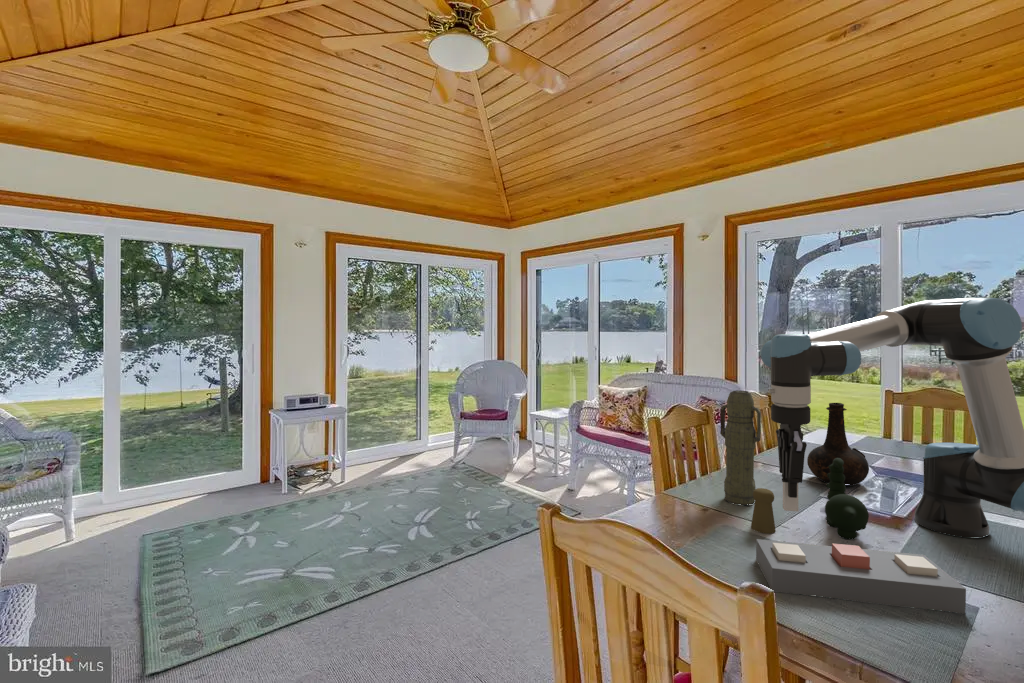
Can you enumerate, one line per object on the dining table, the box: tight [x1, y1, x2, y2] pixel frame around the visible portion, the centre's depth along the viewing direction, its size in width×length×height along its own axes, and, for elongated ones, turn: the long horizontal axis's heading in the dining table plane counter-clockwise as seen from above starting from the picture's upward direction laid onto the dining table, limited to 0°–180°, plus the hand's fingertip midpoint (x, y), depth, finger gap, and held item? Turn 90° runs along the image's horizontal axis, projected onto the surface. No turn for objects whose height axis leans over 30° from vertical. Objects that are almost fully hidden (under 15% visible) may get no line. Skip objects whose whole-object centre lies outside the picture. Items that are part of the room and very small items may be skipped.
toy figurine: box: [824, 458, 870, 541], centre depth 131 cm, size 9×19×25 cm
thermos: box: [719, 390, 762, 505], centre depth 152 cm, size 9×12×35 cm
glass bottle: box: [807, 402, 870, 486], centre depth 169 cm, size 18×18×28 cm
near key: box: [894, 554, 938, 576], centre depth 101 cm, size 5×5×4 cm
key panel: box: [755, 538, 967, 615], centre depth 104 cm, size 34×14×5 cm, turn 76°
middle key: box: [831, 543, 870, 570], centre depth 104 cm, size 5×5×4 cm
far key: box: [772, 543, 806, 563], centre depth 107 cm, size 5×5×4 cm
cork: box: [750, 487, 776, 535], centre depth 132 cm, size 6×6×11 cm
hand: (790, 509), depth 107 cm, fingers closed
